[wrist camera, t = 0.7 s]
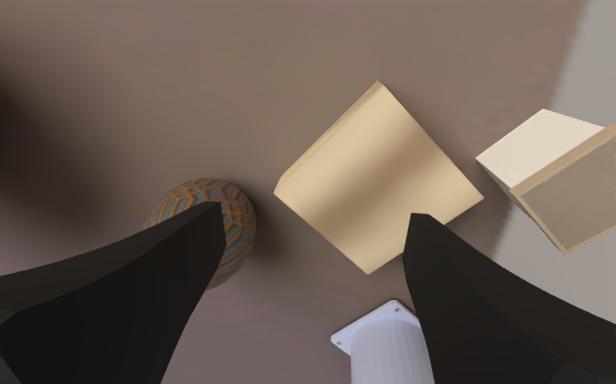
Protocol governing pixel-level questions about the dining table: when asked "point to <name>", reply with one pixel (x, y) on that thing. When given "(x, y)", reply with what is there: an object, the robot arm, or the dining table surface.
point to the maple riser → (374, 180)
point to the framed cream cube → (559, 176)
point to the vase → (235, 219)
